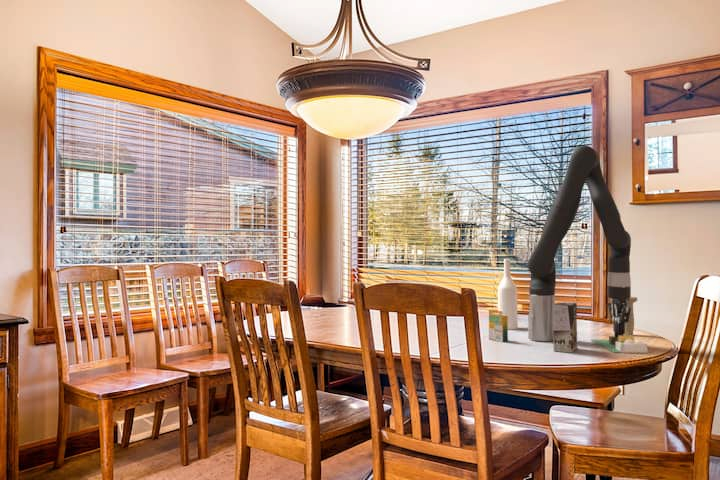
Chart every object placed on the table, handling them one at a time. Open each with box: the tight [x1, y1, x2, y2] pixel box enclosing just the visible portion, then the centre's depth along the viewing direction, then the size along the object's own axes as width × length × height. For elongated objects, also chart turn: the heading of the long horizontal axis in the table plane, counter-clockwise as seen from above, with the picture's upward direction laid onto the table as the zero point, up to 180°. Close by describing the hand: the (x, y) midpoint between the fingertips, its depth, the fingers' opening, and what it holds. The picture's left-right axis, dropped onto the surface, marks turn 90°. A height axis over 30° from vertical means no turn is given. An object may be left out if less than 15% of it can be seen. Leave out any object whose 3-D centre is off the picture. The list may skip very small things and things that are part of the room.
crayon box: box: [488, 309, 509, 343], centre depth 207 cm, size 7×3×12 cm, turn 31°
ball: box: [624, 339, 636, 344], centre depth 185 cm, size 4×4×4 cm
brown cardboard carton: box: [608, 335, 615, 345], centre depth 195 cm, size 6×2×3 cm, turn 86°
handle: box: [624, 296, 638, 335], centre depth 215 cm, size 5×6×15 cm
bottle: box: [497, 258, 519, 331], centre depth 234 cm, size 8×8×30 cm
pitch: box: [591, 339, 647, 354], centre depth 193 cm, size 11×22×1 cm, turn 176°
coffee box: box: [553, 302, 578, 354], centre depth 188 cm, size 9×6×16 cm
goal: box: [616, 341, 648, 354], centre depth 184 cm, size 9×4×3 cm, turn 86°
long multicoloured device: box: [613, 317, 635, 344], centre depth 192 cm, size 8×5×9 cm, turn 176°
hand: (619, 332), depth 194 cm, fingers closed on long multicoloured device, 3 cm apart
